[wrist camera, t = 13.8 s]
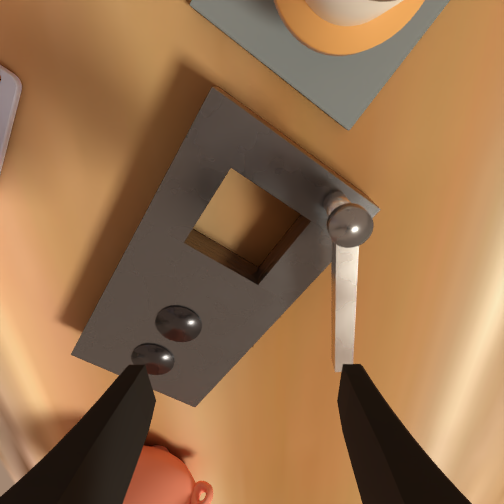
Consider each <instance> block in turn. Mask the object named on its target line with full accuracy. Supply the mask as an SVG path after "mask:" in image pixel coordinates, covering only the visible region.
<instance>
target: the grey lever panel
mask: <svg viewBox="0 0 504 504" xmlns="http://www.w3.org/2000/svg"><path fill="white" fill-rule="evenodd" d="M230 168H232V169H234V170H235V171H237V172H238V173H240V174H241V175H243V176H244V177H246V178H247V179H249V180H250V181H252V182H253V183H255V184H256V185H258V186H259V187H261V188H262V189H264V190H265V191H267V192H268V193H270V194H271V195H273V196H274V197H276V198H277V199H279V200H280V201H282V202H283V203H285V204H286V205H288V206H289V207H291V208H292V209H294V210H295V211H297V212H298V213H300V214H301V215H300V216H299V218H298V219H297V220H296V221H295V223H294V224H293V225H292V226H291V228H290V229H289V230H288V231H287V233H286V234H285V235H284V236H283V238H282V239H281V240H280V241H279V243H278V244H277V245H276V246H275V248H274V249H273V250H272V251H271V253H270V254H269V255H268V256H267V257H266V259H265V260H264V261H263V262H262V264H261V265H260V266H259V267H257V266H255V265H253V264H252V263H250V262H248V261H247V260H245V259H243V258H241V257H240V256H238V255H236V254H235V253H233V252H231V251H230V250H228V249H226V248H224V247H223V246H221V245H219V244H218V243H216V242H214V241H212V240H211V239H209V238H207V237H206V236H204V235H202V234H201V233H199V232H197V231H195V230H194V229H193V227H194V226H195V224H196V222H197V221H198V219H199V218H200V216H201V214H202V213H203V211H204V210H205V208H206V206H207V205H208V203H209V202H210V200H211V198H212V197H213V195H214V194H215V192H216V190H217V189H218V187H219V186H220V184H221V183H222V181H223V179H224V178H225V176H226V175H227V173H228V171H229V170H230ZM334 191H339V192H342V193H344V194H345V195H346V197H347V198H348V199H349V201H350V202H351V203H355V204H358V205H360V206H362V207H363V208H364V209H365V210H366V211H367V212H368V213H369V215H370V216H371V218H373V217H374V216H375V215H376V214H377V213H378V212H379V210H380V208H379V207H378V206H377V205H376V204H375V203H374V202H373V201H372V200H371V199H370V198H369V197H368V196H367V195H365V194H364V193H363V192H361V191H360V190H359V189H357V188H356V187H355V186H353V185H352V184H350V183H349V182H348V181H346V180H345V179H344V178H342V177H341V176H340V175H338V174H337V173H335V172H334V171H333V170H331V169H330V168H329V167H327V166H326V165H325V164H323V163H322V162H321V161H319V160H318V159H316V158H315V157H314V156H312V155H311V154H310V153H308V152H307V151H306V150H304V149H303V148H301V147H300V146H299V145H297V144H296V143H295V142H293V141H292V140H291V139H289V138H288V137H286V136H285V135H284V134H282V133H281V132H280V131H278V130H277V129H276V128H274V127H273V126H271V125H270V124H269V123H267V122H266V121H265V120H263V119H262V118H261V117H259V116H258V115H256V114H255V113H254V112H252V111H251V110H250V109H248V108H247V107H246V106H244V105H243V104H242V103H240V102H239V101H237V100H236V99H235V98H233V97H232V96H231V95H229V94H228V93H227V92H225V91H224V90H222V89H221V88H220V87H218V86H215V87H212V88H211V90H210V92H209V94H208V96H207V97H206V99H205V101H204V103H203V105H202V107H201V109H200V111H199V113H198V114H197V116H196V118H195V120H194V122H193V124H192V126H191V128H190V130H189V132H188V133H187V135H186V137H185V139H184V141H183V143H182V145H181V147H180V149H179V150H178V152H177V154H176V156H175V158H174V160H173V162H172V164H171V166H170V168H169V169H168V171H167V173H166V175H165V177H164V179H163V181H162V183H161V185H160V186H159V188H158V190H157V192H156V194H155V196H154V198H153V200H152V202H151V204H150V205H149V207H148V209H147V211H146V213H145V215H144V217H143V219H142V221H141V223H140V224H139V226H138V228H137V230H136V232H135V234H134V236H133V238H132V240H131V241H130V243H129V245H128V247H127V249H126V251H125V253H124V255H123V257H122V259H121V260H120V262H119V264H118V266H117V268H116V270H115V272H114V274H113V276H112V277H111V279H110V281H109V283H108V285H107V287H106V289H105V291H104V293H103V295H102V296H101V298H100V300H99V302H98V304H97V306H96V308H95V310H94V312H93V313H92V315H91V317H90V319H89V321H88V323H87V325H86V327H85V329H84V331H83V332H82V334H81V336H80V338H79V340H78V342H77V344H76V346H75V348H74V350H73V351H72V353H71V355H73V356H75V357H77V358H80V359H82V360H85V361H87V362H89V363H92V364H94V365H96V366H99V367H101V368H103V369H106V370H108V371H110V372H113V373H115V374H117V375H120V374H121V373H122V372H123V371H124V369H125V368H126V367H127V366H128V365H145V366H146V369H147V372H148V376H149V379H150V382H151V386H152V389H153V390H155V391H158V392H160V393H162V394H165V395H167V396H169V397H172V398H174V399H176V400H179V401H181V402H183V403H186V404H188V405H191V406H193V407H196V406H197V405H198V404H199V403H200V402H201V401H202V399H203V398H204V397H205V396H206V395H207V394H208V393H209V392H210V391H211V390H212V389H213V388H214V387H215V386H216V384H217V383H218V382H219V381H220V380H221V379H222V378H223V377H224V376H225V375H226V374H227V373H228V372H229V371H230V370H231V368H232V367H233V366H234V365H235V364H236V363H237V362H238V361H239V360H240V359H241V358H242V357H243V356H244V355H245V354H246V352H247V351H248V350H249V349H250V348H251V347H252V346H253V345H254V344H255V343H256V342H257V341H258V340H259V339H260V338H261V336H262V335H263V334H264V333H265V332H266V331H267V330H268V329H269V328H270V327H271V326H272V325H273V324H274V323H275V321H276V320H277V319H278V318H279V317H280V316H281V315H282V314H283V313H284V312H285V311H286V310H287V309H288V308H289V307H290V305H291V304H292V303H293V302H294V301H295V300H296V299H297V298H298V297H299V296H300V295H301V294H302V293H303V292H304V291H305V289H306V288H307V287H308V286H309V285H310V284H311V283H312V282H313V281H314V280H315V279H316V278H317V277H318V276H319V275H320V273H321V272H322V271H323V270H324V269H325V268H326V267H327V266H328V265H329V264H330V263H331V262H332V239H331V237H330V235H329V233H328V230H327V219H328V215H327V213H326V211H325V209H324V206H323V202H324V199H325V197H326V196H327V195H328V194H329V193H331V192H334Z"/></svg>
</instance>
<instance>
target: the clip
mask: <svg viewBox="0 0 504 504" xmlns="http://www.w3.org/2000/svg"><path fill="white" fill-rule="evenodd" d="M323 206H324V209H325V211H326V213H327V215H328V219H327V230H328V233H329V235H330V237H331V239H332V334H331V358H332V362H333V366H334V370H335V372H342V366H343V364H353V354H354V334H355V314H356V294H357V274H358V254H359V245H361V244H363V243H364V242H365V241H366V240H367V239H368V238H369V237H370V235H371V233H372V231H373V220H372V218H371V216H370V215H369V213H368V212H367V211H366V210H365V209H364V208H363V207H362V206H360V205H358V204H355V203H351V202H350V201H349V199H348V198H347V197H346V195H345V194H344V193H342V192H339V191H334V192H331V193H329V194H328V195H327V196H326V197H325V199H324V202H323Z"/></svg>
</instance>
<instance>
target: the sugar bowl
mask: <svg viewBox="0 0 504 504" xmlns="http://www.w3.org/2000/svg"><path fill="white" fill-rule="evenodd" d="M203 492H205V493H206V496H205V498H204V500H202V501H199V498H200V495H201V493H203ZM212 498H213V489H212V486H211V485H210V484H209V483H207V482H205V481H198V482H197V483H195V481H194V479H193V477H192V475H191V473H190V471H189V470H188V468H187V466H186V465H185V464H184V463H183V462H182V461H181V460H180V459H179V458H177V457H176V456H174V455H172V454H171V453H169V450H168V449H167V448H166V447H164V446H161V445H154V446H151V447H150V446H145V445H143V448H142V451H141V454H140V457H139V459H138V462H137V465H136V468H135V471H134V473H133V476H132V479H131V482H130V485H129V487H128V490H127V493H126V496H125V498H124V501H123V504H210V503H211V501H212Z"/></svg>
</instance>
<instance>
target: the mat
mask: <svg viewBox="0 0 504 504" xmlns="http://www.w3.org/2000/svg"><path fill="white" fill-rule="evenodd" d="M449 1H450V0H425V1H424V2H423V4H422V5H421V7H420V8H419V10H418V11H417V12H416V13H415V15H414V16H413V17H412V18H411V20H410V21H409V22H408V23H407V24H406V25H405V26H404V27H403V28H402V29H401V30H399V31H398V32H397V33H396V34H394V35H393V36H392V37H391V38H389V39H387V40H386V41H384V42H383V43H381V44H379V45H377V46H375V47H373V48H370V49H368V50H365V51H362V52H359V53H356V54H353V55H347V56H330V55H324V54H321V53H317V52H315V51H313V50H311V49H309V48H307V47H306V46H304V45H303V44H301V43H300V42H299V41H298V40H297V39H296V38H295V37H294V36H293V35H292V34H291V33H290V32H289V30H288V29H287V28H286V26H285V25H284V23H283V21H282V20H281V18H280V16H279V13H278V11H277V9H276V6H275V3H274V0H192V1H191V3H190V6H191V7H192V8H193V9H195V10H196V11H197V12H198V13H200V14H201V15H202V16H203V17H205V18H206V19H207V20H208V21H210V22H211V23H212V24H214V25H215V26H216V27H217V28H219V29H220V30H221V31H222V32H224V33H225V34H226V35H227V36H229V37H230V38H231V39H233V40H234V41H235V42H236V43H238V44H239V45H240V46H241V47H243V48H244V49H245V50H246V51H248V52H249V53H250V54H252V55H253V56H254V57H255V58H257V59H258V60H259V61H260V62H262V63H263V64H264V65H266V66H267V67H268V68H269V69H271V70H272V71H273V72H274V73H276V74H277V75H278V76H279V77H281V78H282V79H283V80H285V81H286V82H287V83H288V84H290V85H291V86H292V87H293V88H295V89H296V90H297V91H298V92H300V93H301V94H302V95H304V96H305V97H306V98H307V99H309V100H310V101H311V102H312V103H314V104H315V105H316V106H317V107H319V108H320V109H321V110H323V111H324V112H325V113H326V114H328V115H329V116H330V117H331V118H333V119H334V120H335V121H337V122H338V123H339V124H340V125H342V126H343V127H344V128H345V129H347V130H350V129H351V128H352V126H353V125H354V124H355V122H356V121H357V120H358V118H359V117H360V116H361V115H362V113H363V112H364V111H365V109H366V108H367V107H368V106H369V104H370V103H371V102H372V100H373V99H374V98H375V97H376V95H377V94H378V93H379V91H380V90H381V89H382V87H383V86H384V85H385V84H386V82H387V81H388V80H389V78H390V77H391V76H392V75H393V73H394V72H395V71H396V69H397V68H398V67H399V66H400V64H401V63H402V62H403V60H404V59H405V58H406V57H407V55H408V54H409V53H410V51H411V50H412V49H413V47H414V46H415V45H416V44H417V42H418V41H419V40H420V38H421V37H422V36H423V35H424V33H425V32H426V31H427V29H428V28H429V27H430V26H431V24H432V23H433V22H434V20H435V19H436V18H437V16H438V15H439V14H440V13H441V11H442V10H443V9H444V7H445V6H446V5H447V4H448V2H449Z"/></svg>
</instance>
